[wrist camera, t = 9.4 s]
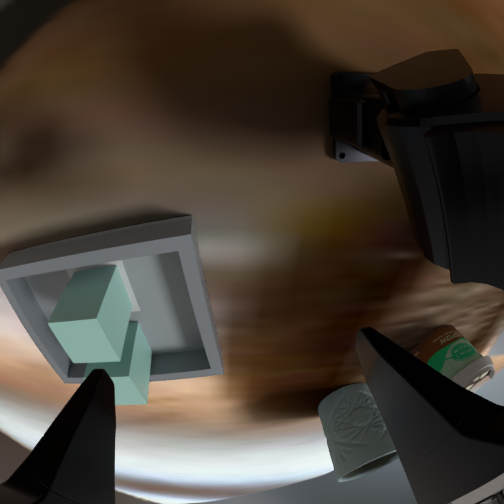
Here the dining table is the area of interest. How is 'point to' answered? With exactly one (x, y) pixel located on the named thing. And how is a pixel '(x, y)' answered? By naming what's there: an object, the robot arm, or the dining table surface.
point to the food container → (454, 357)
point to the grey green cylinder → (355, 432)
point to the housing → (141, 296)
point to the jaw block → (93, 316)
